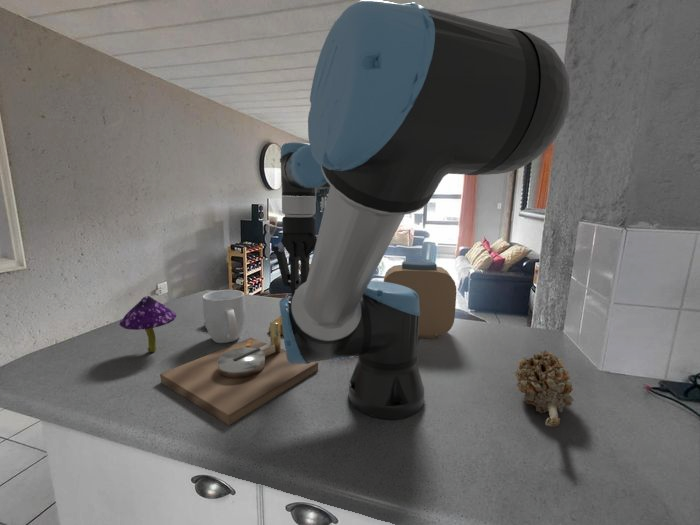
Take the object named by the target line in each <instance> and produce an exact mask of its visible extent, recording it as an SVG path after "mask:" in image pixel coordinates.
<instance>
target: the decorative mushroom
mask: <svg viewBox="0 0 700 525" xmlns="http://www.w3.org/2000/svg"><path fill="white" fill-rule="evenodd" d="M176 318H177V314H176V312H174V311H173V310H172V309H170V308H169V307H168V306H166V305H164V304H163V303H161V302H159V301H158V300H156V299H154V298H153V297H151V296H149V295H144V296H143V297H142V298H141V300H140V301H139V302H137V303H136V304H135V305H134V306H133V307H132V308H130V309H129V311H128V312H127V313H126V314H125V315H124V317H123V318H122V319H121V320H120V322H119V326H120V327H122V328H123V329H126V330H133V331H135V330H137V331H138V330H145V333H146V335H147V340H148V347H147V352H150V353H153V352H156V351H157V344H156V343H157V339H156V334H155V331H154V329H155V328H159V327H161V326H165V325H167V324H170V323H172V322H174V320H175V319H176Z"/></svg>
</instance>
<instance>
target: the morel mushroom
mask: <svg viewBox="0 0 700 525" xmlns="http://www.w3.org/2000/svg"><path fill="white" fill-rule="evenodd" d="M517 362H518V365H517V368H518V369H517V368H516V369H517V370H516V371H515V372H514V377H516V380H517V381H518V382H517V383H516V386H517V387H518V391H519V392H521V393H524V394H523V395H524V397H523V398H524V400H525V401H526V403H527V404H530V405H533V406H535V412H539V414H544V413H546V412H548V415H549V417H547V419H546V420H545V426H549V427H557V426H559V424H560V421H561V417H559V414H558V411H559V412H560V413H562V412H563V408H564V407H566V406H567V407H568V406H571V405H573V403H572V402H574V401H575V399H574V397H573V396H571V395H570V394H571V393H572V391H573V390H574V388H573V383H572V382H570V381H569V380H570V379H571V375H570V374H569V369H567V368H566V369H565V368H564V364H563V361H562V359H560V358H558V357H556V356H555V354H554V353H552V352H550V351H548V350H543V351H542V350H541V351H540V352H539V353H533V356H531V357H530V358H526V357H524V356H523V357H522V358H521V359H519V361H517Z"/></svg>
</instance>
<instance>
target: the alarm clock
mask: <svg viewBox="0 0 700 525" xmlns="http://www.w3.org/2000/svg"><path fill="white" fill-rule="evenodd" d="M383 282H388V283H394V284H398V285H402V286H405V287H408V288H410V289H412V290H414V291H415V292H416V293H417V294H418V296H419V306H420V316H419V329H418V339H419V338H420V339H421V338H422V339H437V336H442V335H445V334H446V333H448V332H449V331H450V330H451V329H452V328H453V325H454V323H455V318H456V317H455V316H456V308H457V307H456V306H457V305H456V304H457V286H456V282H455V280H454V278H452V276H451V275H450V273H449V272H448V271H447V269H445V268H444V267H442V266H438V265H437V264H436V262H429V261H402V262H401V264H399V265H396V264H395V265H393V266H391V267H390V268H388V270H387V271H386V272H385V274H384V277H383Z"/></svg>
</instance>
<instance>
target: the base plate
mask: <svg viewBox="0 0 700 525" xmlns="http://www.w3.org/2000/svg"><path fill="white" fill-rule="evenodd" d="M267 344H268V343H267V342H264V341H261V340H258V339H255V338H253V337H249V338H247V339H244V340H241V341H239V342H236V343H233V344H231V345H228V346H227V347H224V348H222V349H220V350H217V351H214V352H211V353H208V354H206V355H204V356H202V357H199V358H197V359H194V360H191V361H188V362H186V363H183V364H181V365H179V366H176V367H174V368H172V369H168V370H166V371H164V372H162V373H160V374H159V375H160V377H159V378H160V383H162V384H163V385H165V386H166V387H168V388H169V389H170V390H172V391H174V392H175V393H178V394H179V395H180V396H182V397H184V398H185V399H187V400H189V401H190V402H191V403H193V404H194V405H196V406H198V407H199V408H201V409H202V410H204V411H206V412H207V413H208V414H210V415H212V416H214V417H215V418H217V419H218V420H219V421H221V422H223V423H225V424H226V425H228V426H231V425H232V424H234V423H235V422H237V421H239V420H240V419H242V418H243V417H245V416H247V415H248V414H250V413H251V412H253V411H255V410H257V409H258V408H259V407H262V406H263V405H264V404H266V403H268V402H269V401H271V400H272V399H274V398H276V397H278V396H279V395H281V394H282V393H284V392H285V391H288V388H289V389H290V388H292V387H293V386H295V385H297V384H298V383H300V382H301V381H303V380H305V379H306V378H309V377H310V376H311V375H313V374H315V373H316V372H318V371H319V361H316V362H310V363H309V364H292V363H290V362H289V361H288V360H287V357H286V350H285V349H283V348H281V350H280V351H278V352H274V353H272V354H270V355H268V356H266V357H265V366H264V367H263V369H261V370H260V371H258V372H257V373H254V374H252V375H249V376H244V377H227V376H224V375H222V374H220V373H219V371H218V358H219V357H220V356H221V355H222V354H224V353H226V352H228V351H231V350H234V349H239V348H256V349H257V348H260V347H262V346H264V345H267ZM309 375H310V376H309Z"/></svg>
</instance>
